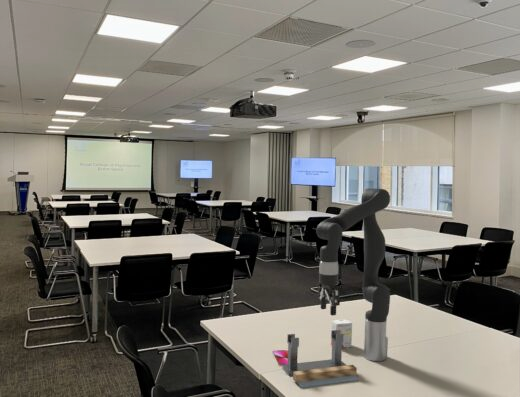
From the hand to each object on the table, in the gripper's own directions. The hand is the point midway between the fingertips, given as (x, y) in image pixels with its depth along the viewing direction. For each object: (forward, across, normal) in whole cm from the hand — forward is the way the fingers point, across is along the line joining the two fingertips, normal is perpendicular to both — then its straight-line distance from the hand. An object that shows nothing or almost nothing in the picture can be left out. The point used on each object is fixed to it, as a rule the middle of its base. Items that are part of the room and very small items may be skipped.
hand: (328, 311), depth 177 cm
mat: (+25, -4, +3) cm, 26 cm away
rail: (+25, -4, +3) cm, 25 cm away
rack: (+25, +6, +3) cm, 26 cm away
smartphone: (+26, +19, +12) cm, 34 cm away
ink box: (+26, +26, -20) cm, 42 cm away
